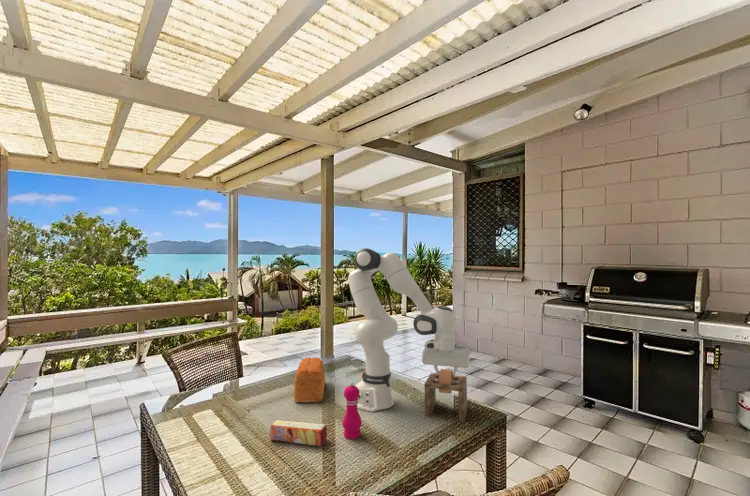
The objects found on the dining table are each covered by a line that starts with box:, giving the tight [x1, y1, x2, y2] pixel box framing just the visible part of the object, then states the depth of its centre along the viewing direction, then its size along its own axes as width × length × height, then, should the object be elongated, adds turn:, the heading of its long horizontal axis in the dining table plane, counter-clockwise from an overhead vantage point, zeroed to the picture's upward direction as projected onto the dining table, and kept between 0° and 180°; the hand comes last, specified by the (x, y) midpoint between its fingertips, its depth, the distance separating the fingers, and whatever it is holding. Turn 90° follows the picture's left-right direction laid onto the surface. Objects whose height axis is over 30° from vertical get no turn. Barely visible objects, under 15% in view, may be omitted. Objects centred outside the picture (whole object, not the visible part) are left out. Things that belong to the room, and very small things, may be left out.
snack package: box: [269, 419, 328, 448], centre depth 128 cm, size 21×7×7 cm, turn 74°
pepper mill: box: [342, 381, 363, 440], centre depth 132 cm, size 7×7×20 cm
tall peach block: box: [438, 368, 454, 394], centre depth 151 cm, size 5×7×8 cm
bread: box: [293, 357, 326, 403], centre depth 175 cm, size 14×27×15 cm, turn 6°
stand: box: [424, 372, 468, 422], centre depth 151 cm, size 16×14×14 cm
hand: (445, 375), depth 151 cm, fingers closed on tall peach block, 5 cm apart
